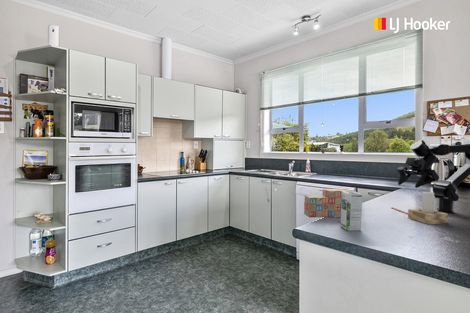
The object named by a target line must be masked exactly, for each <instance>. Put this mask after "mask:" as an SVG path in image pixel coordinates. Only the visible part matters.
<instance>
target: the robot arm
mask: <svg viewBox="0 0 470 313" xmlns="http://www.w3.org/2000/svg"><path fill="white" fill-rule="evenodd" d="M409 148H410V150H411V151H412V152H413V153H414V154H415V156H416V157H407V158H406V159H405V163H404V164H406V165H407V166H409V169H408V167H406V166H398V167H397V169H396V171H397V172H398V174H399V179H398V180H397V181H398V182H397V185H398V186H401V185H402V184H404V183H405V182H406V181H408V180H409V178H410V177H411V175H412V176H417V177H420V178H419V179H418V181H417V182H416V183H415V185H414V187H415V188H416V189H418V188H419V187H423V186H425V185H428V184H431V183H434V182H436V183H434V185H433V187H432V193H434V199H435V198H436V199H438V207H437V208H436V211H439V212H443V213H451V214H455V211H454V202H457V201H458V202H459V199H460V196H459V195H458V194H457V187H458V186H459V185H461V183H463V181H465V180H466V179H467V178H468V177H470V143H465V144H452V145H449V144H444V143H441V144H440V143H439V144H436V143H432V144H429V146H428V145H427V143H426V142H425V141H424V139H419V140H418V141H416V142H414V143H412V144H411V145H410V146H409ZM453 153H464V157H465V158H466V160H465V164H463V165H462V166H461V167H460V168H459V169H458V170H457V171H455V172H454V173H453V174H452V175H451V176H450V177H448V178H447V179H446V180H445V179H440V175H438V173H437V171H436V170H435V169H432V168H431V167H432V166H433V165H434V164H440V160H439V157H443V156H446V155H449V154H453ZM438 156H439V157H438ZM417 157H418V158H417Z"/></svg>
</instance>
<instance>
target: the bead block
mask: <svg viewBox="0 0 470 313" xmlns="http://www.w3.org/2000/svg"><path fill="white" fill-rule="evenodd" d="M407 213H408V214H407V219H410V220H413V221H416V222H419V223H424V224H427V225H439V224H448V216H449V214H448V212H441V211H438V210H434V213H425V212H422V208H410V209H409V208H408V211H407Z"/></svg>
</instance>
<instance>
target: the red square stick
mask: <svg viewBox="0 0 470 313" xmlns="http://www.w3.org/2000/svg"><path fill="white" fill-rule="evenodd" d="M391 209H392V210H395V211H398V212H400V213H403V214H405V215H408V212H406V211H403V210H401V209H398V208H395V207H391Z"/></svg>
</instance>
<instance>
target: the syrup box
mask: <svg viewBox="0 0 470 313" xmlns="http://www.w3.org/2000/svg"><path fill="white" fill-rule="evenodd" d="M362 212H363V193H359V192H357V191H354V190H351V191H342V204H341V217H340V228H343V229H344V230H346V231H349V232H350V231H351V232H352V231H361V230H362V214H363V213H362Z"/></svg>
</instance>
